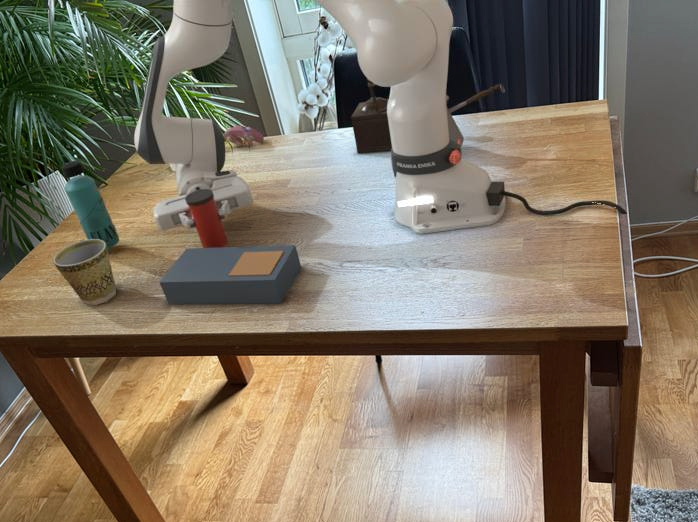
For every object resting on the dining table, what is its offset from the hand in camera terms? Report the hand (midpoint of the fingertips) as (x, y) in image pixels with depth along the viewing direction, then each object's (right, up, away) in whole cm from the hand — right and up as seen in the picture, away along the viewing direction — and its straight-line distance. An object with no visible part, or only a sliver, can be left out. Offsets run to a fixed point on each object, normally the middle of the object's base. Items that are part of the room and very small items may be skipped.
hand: (207, 220), depth 138 cm
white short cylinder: (-18, +24, +48) cm, 57 cm away
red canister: (+1, -4, +4) cm, 6 cm away
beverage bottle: (-25, -4, +16) cm, 30 cm away
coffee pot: (+54, +21, +25) cm, 63 cm away
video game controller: (-2, +31, +53) cm, 62 cm away
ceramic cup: (-21, -14, +1) cm, 26 cm away
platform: (+7, -14, -6) cm, 16 cm away
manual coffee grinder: (+36, +28, +39) cm, 60 cm away
